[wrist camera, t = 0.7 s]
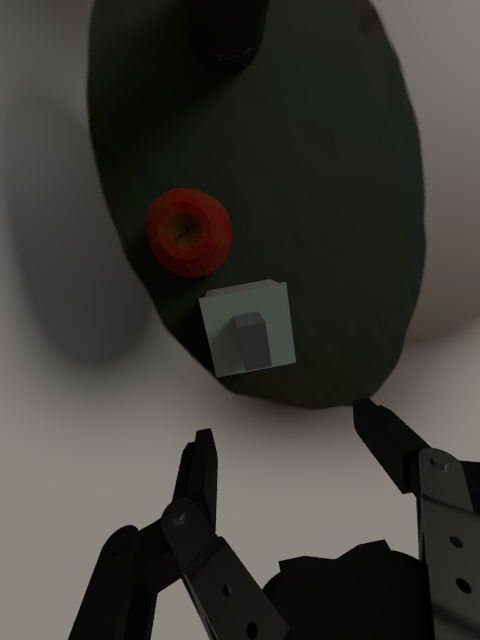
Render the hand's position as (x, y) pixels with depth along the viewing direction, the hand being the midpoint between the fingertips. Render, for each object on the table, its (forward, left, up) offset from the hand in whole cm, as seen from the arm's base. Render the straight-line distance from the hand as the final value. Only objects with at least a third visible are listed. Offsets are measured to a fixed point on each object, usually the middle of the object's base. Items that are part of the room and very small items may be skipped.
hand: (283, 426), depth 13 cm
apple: (-13, -5, -26) cm, 29 cm away
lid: (0, 0, -19) cm, 19 cm away
